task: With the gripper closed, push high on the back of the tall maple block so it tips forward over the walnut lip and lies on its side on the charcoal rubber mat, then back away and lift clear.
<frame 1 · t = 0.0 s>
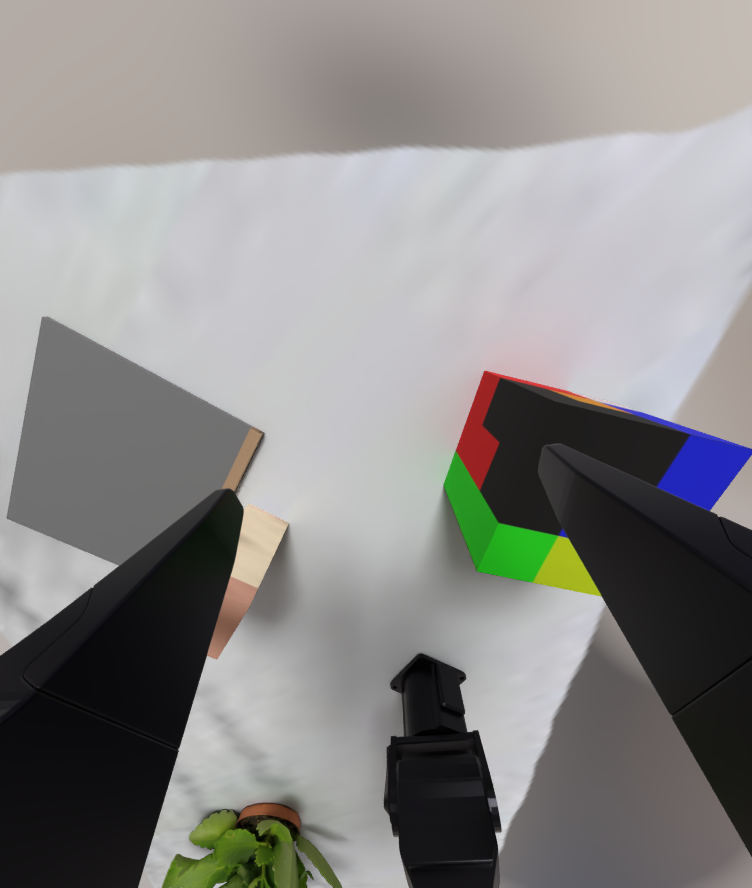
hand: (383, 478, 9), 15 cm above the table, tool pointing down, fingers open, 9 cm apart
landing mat: (129, 477, 27), on the table
maple block: (256, 536, 29), on the table
puzzle toy: (519, 444, 25), on the table
potted flower: (276, 813, 49), on the table
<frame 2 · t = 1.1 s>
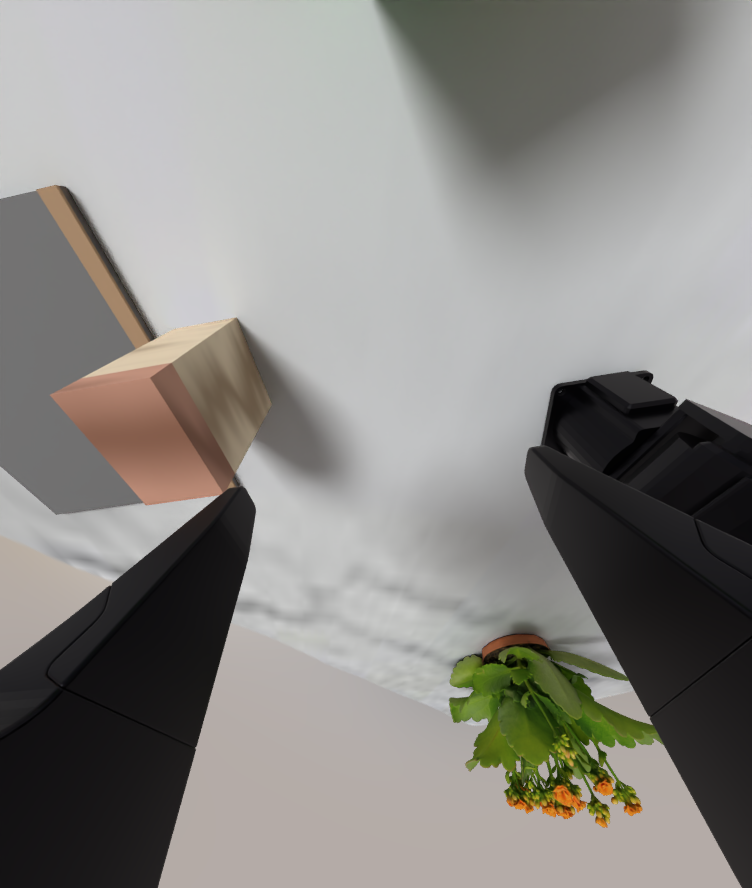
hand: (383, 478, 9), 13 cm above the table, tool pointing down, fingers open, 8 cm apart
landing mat: (61, 398, 21), on the table
maple block: (226, 369, 20), on the table
potted flower: (516, 643, 47), on the table
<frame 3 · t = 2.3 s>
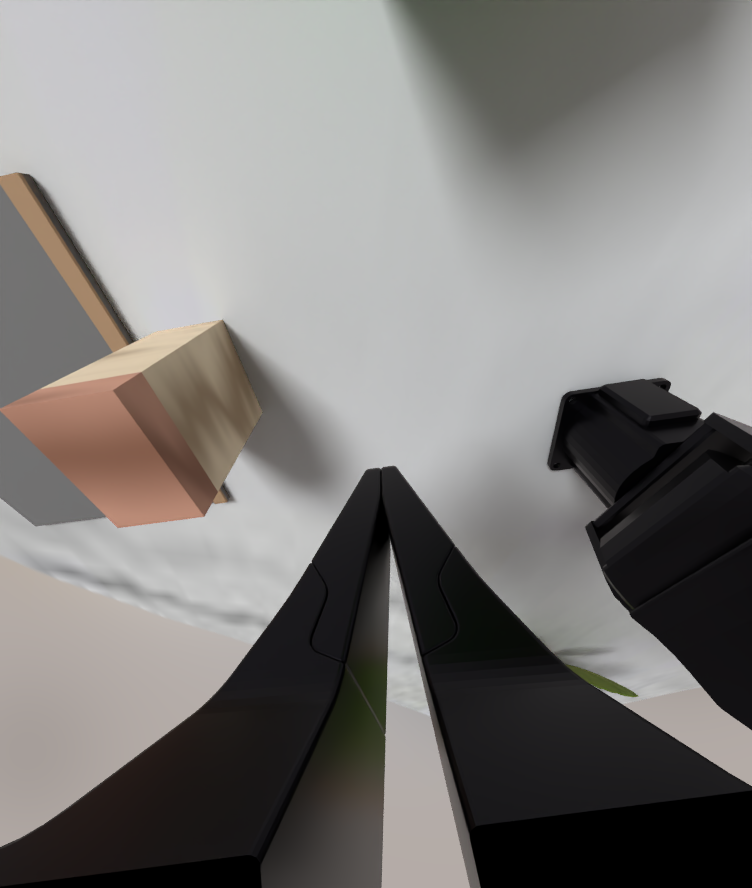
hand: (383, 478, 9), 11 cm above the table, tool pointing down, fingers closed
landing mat: (36, 405, 20), on the table
maple block: (213, 375, 19), on the table
potted flower: (518, 654, 46), on the table
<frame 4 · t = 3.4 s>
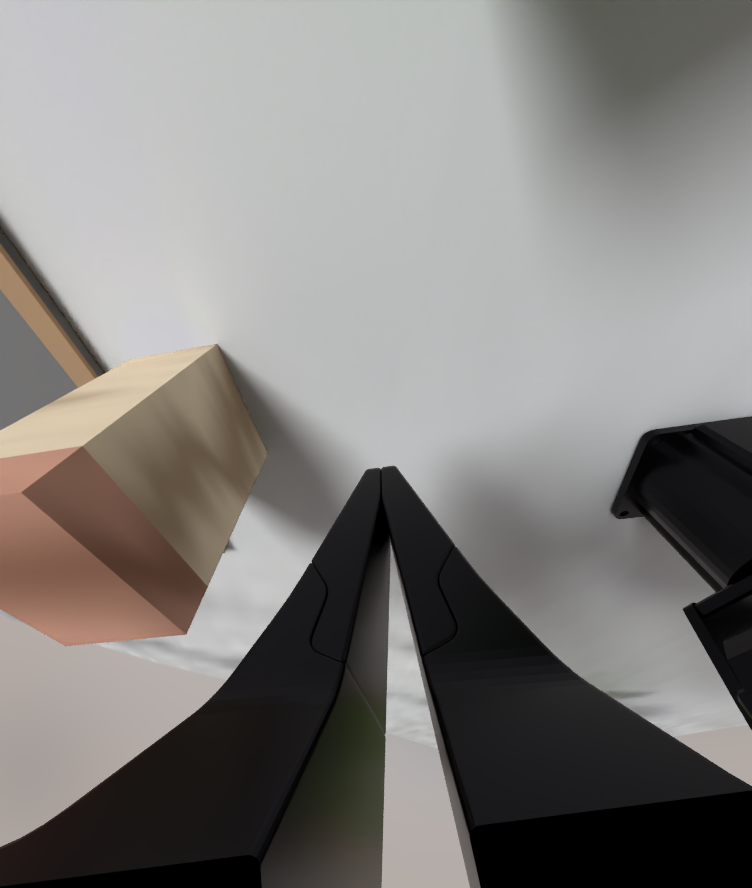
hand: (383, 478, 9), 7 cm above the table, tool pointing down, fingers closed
maple block: (206, 411, 15), on the table
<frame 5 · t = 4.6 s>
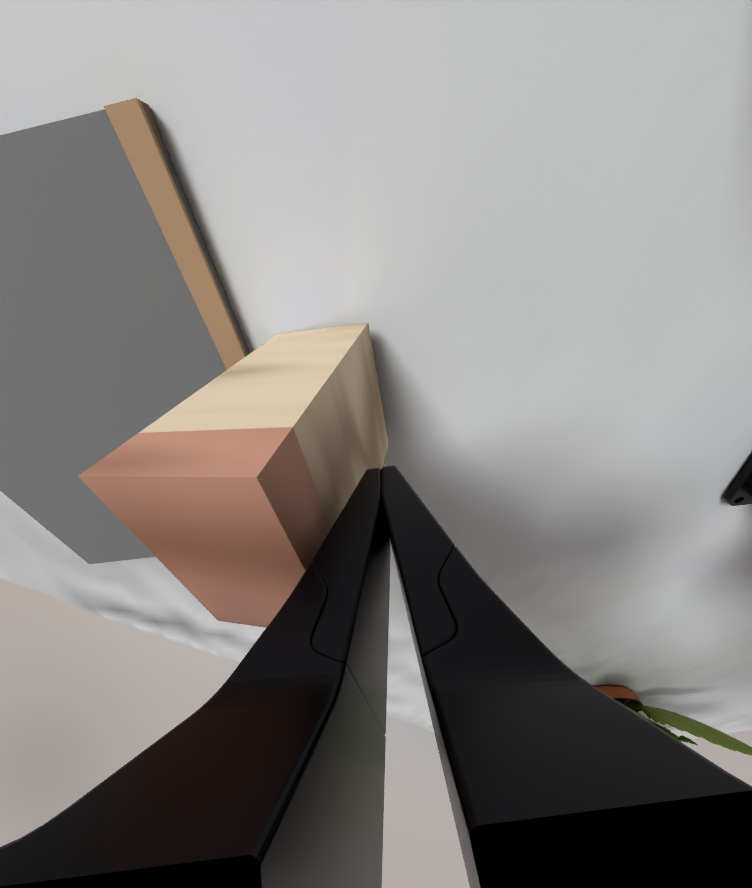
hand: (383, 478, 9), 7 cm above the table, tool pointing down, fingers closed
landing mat: (109, 426, 16), on the table
maple block: (338, 393, 14), on the table, tilted 11°, touching gripper
potted flower: (597, 692, 41), on the table
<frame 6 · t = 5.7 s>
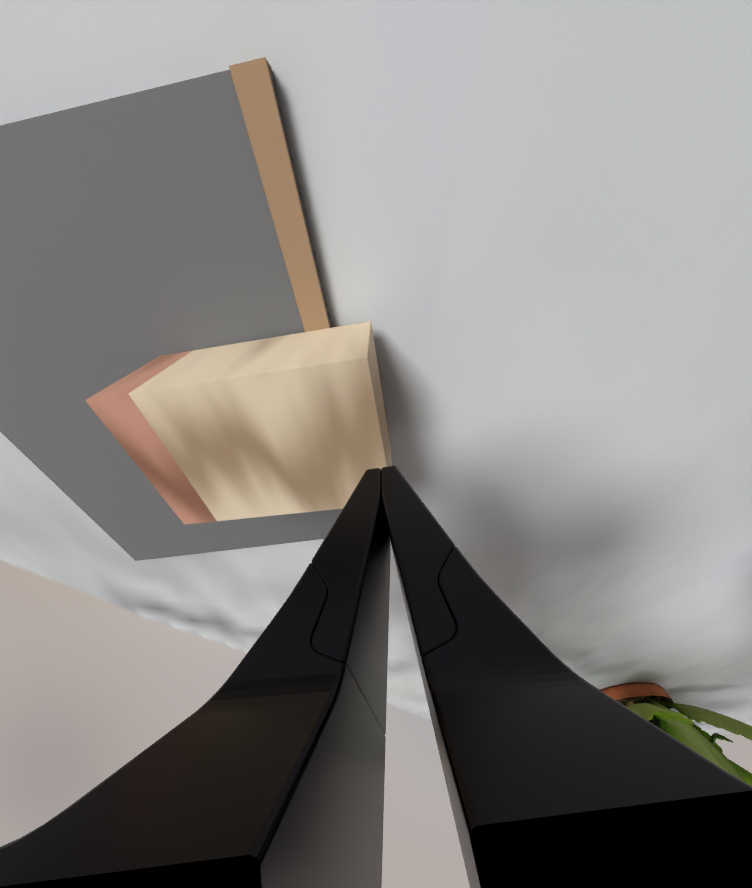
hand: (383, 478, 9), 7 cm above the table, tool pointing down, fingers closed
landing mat: (176, 415, 15), on the table
maple block: (382, 413, 12), point 3 cm above the table, tilted 92°, touching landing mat
potted flower: (626, 690, 41), on the table
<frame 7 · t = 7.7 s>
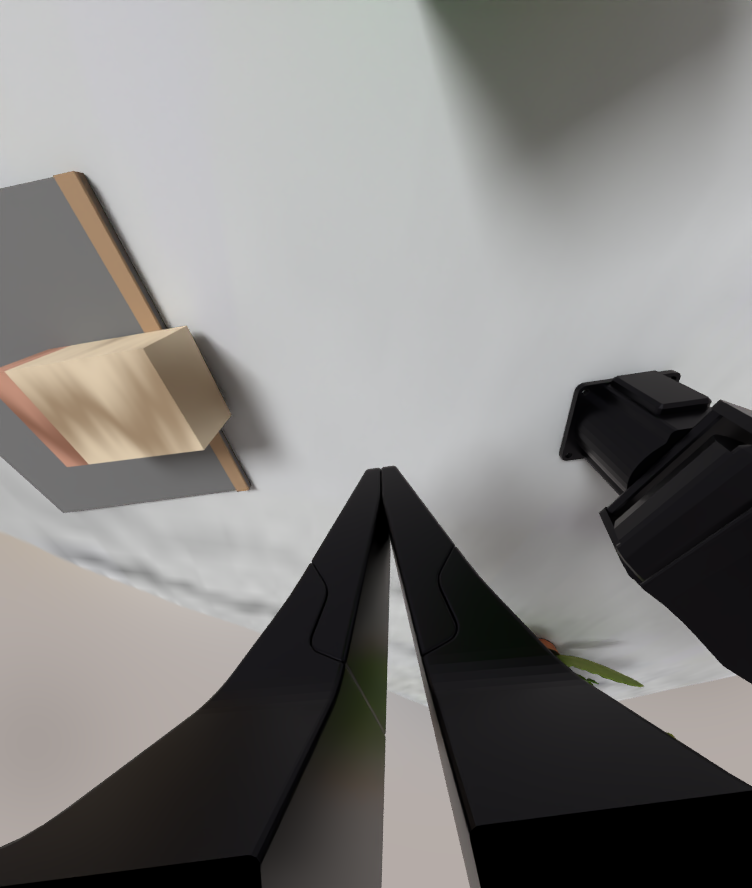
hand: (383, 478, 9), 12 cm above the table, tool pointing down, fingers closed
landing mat: (72, 393, 21), on the table
maple block: (195, 388, 18), point 3 cm above the table, tilted 92°, touching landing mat
potted flower: (524, 647, 46), on the table
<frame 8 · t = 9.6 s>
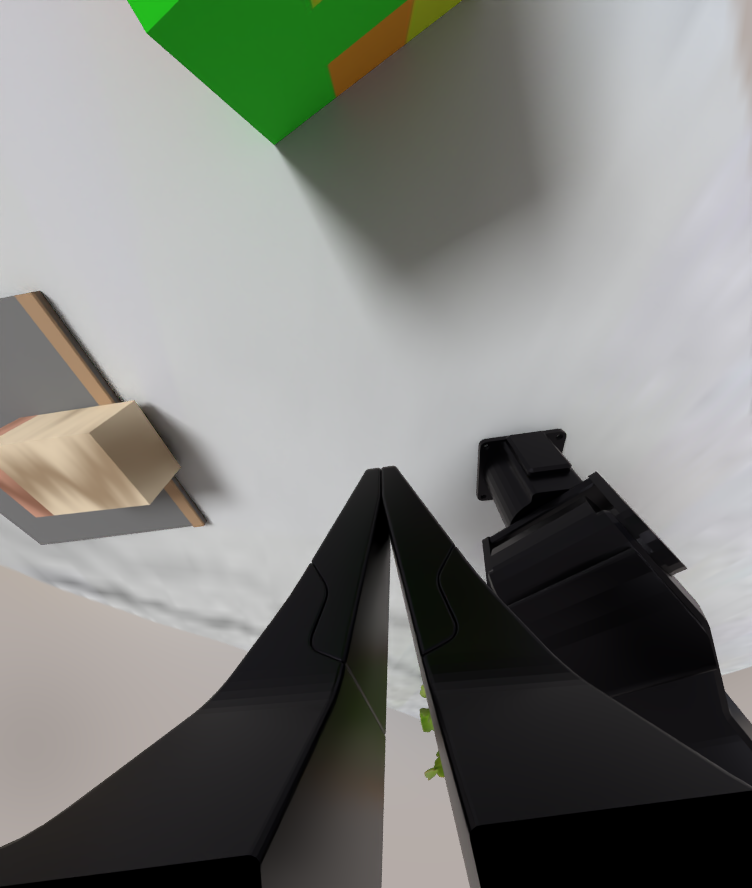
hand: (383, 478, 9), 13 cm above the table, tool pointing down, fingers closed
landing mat: (43, 449, 24), on the table
maple block: (142, 452, 21), point 3 cm above the table, tilted 92°, touching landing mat
potted flower: (482, 657, 49), on the table
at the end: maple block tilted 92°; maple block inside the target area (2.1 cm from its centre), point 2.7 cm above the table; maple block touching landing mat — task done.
